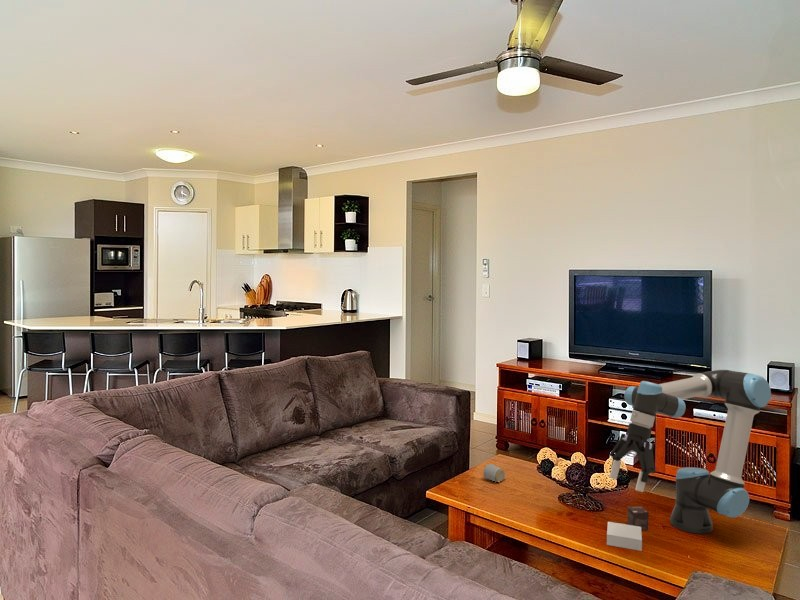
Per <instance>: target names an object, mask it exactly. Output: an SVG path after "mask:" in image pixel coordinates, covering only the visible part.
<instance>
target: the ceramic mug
mask: <svg viewBox="0 0 800 600" xmlns="http://www.w3.org/2000/svg"><path fill="white" fill-rule="evenodd" d="M483 477H484V478H485V479H486V478H487V479H486V480H488V479H490V480H492V481H491V482H493V481H495V482H494V483H496V482H498V481H502V480H503V481H504V480H505V479H504V478H507V476H505V471H504V469H503V468H501V467H499V466H497V465H495V464H492V463H488V464H486V466H485V468H484V469H483ZM490 480H489V481H490ZM503 481H502V482H503Z"/></svg>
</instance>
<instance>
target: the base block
mask: <svg viewBox="0 0 800 600" xmlns="http://www.w3.org/2000/svg"><path fill="white" fill-rule="evenodd" d="M606 530H607V531H606V546H612V547H617V548H623V549H629V550H634V551H641V552H642V551H643V537H642V536H643V533H642V530H641V527H639V526H633V525H628V524H625V523H620V522H612V521H607V529H606Z"/></svg>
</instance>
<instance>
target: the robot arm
mask: <svg viewBox="0 0 800 600" xmlns="http://www.w3.org/2000/svg"><path fill="white" fill-rule="evenodd" d="M771 390H772V389H771V386H770V384H769V382H768V381H767V380H766V379H765V377H763V376H761V375H758V374H754V373H748V372H743V371H735V370H729V369H715V370H710V371H709V370H708V371H705V372H704V371H703V372H699V373H696V374H693V376H692V377H689V378H683V379H679V380H678V379H677V380H673V381H668V382H663V383H659V384H658V383H655V382H650V381H648V380H647V381H646V380H642V381H640V383H639V385H638V386H633V385H632V386H629V387H627V388H626V390H625V392H624V395H623V396H624V398H623V399H624V401H625V403H626V404H628V406H631V407H632V412H631V415H630V419H629V422H630V423H628V427H627V434H625V433H621V435H620V437H619V440H617V442H616V444H615V445H614V446H613V448H612V449H611V451H610V453H609V456H610V457H611V458H612V461H611V466H610V468H611V469H610V473H609V475H608V476H609V477H608V478H610V479H613V480H617V479H618V476H619V472H620V468H621V464H622V458H624V457H625V456H626V455H627V454H628V453H630V452H631V451H633V452H635V454H637V457H638V460H639V464H640V468H641V470H640V471H639V473H638V477H637V481H636V485H635V491H637V492H641V493H644V491H645V490H644V489H645V486H646V483H647V482H648V479H649V475H650V474H655V472H656V469H655V460H654V459H655V458H654V447H655V445H654V443H651V442H648V440H650V438H651V436H652V432H653V431H652V428H653V427H654V424H655V423H654V422H655V420H656V419H655V418H656V417H657V416H656V414H660V415H664V416H666V417H670V418H673V419H674V418H675V419H678V418H681V417H682V416H684V414H685V412H686V409H687V408H686V403H685V401H684V400H686V399H691V398H695V397H700V398H709V397H711V398H712V397H713V398H718V399H723V400H725V401H724V406H726V408H727V412H726V413H727V414H726V419H725V422H724V428H723V432H722V437H721V442H720V447H719V452H718V456H717V459H716V460H717V461H716V465H715V469H714V470H713V471H711V472H710V471H709V470H707V469H705V468H702V467H695V466H694V467H693V466H692V467H690V466H689V467H688V466H686V467H681V468H678V469H677V470H676V476H675V505H674V507H673V509H672V512H671V514H670V520H669V521H670V524H671V525H672V526H673V527H674V528H676V529H678V530H680V531H684V532H687V533H692V534H699V535H700V534H701V535H703V534H705V535H706V534H709V533H712V532H713V526H714V524H713V520H712V517H711V515H710V512H709V510H711V511H714V512H716V513H718V514H719V515H721V516H726V517H729V518H737V517H740V516H741V515H742V514H744V512H745V511H746V510H747V509H748V506H749V503H750V496H749V492H748V491H747V490H746V489H745V482H744V480H743V478H742V475H743V469H744V464H745V461H746V456H747V450H748V445H749V442H750V436H751V431H752V426H753V421H754V417H755V415H757V414H759V413H760V412H761V408H765V407H766V406H768V404H769V402H770V401H771V398H772V397H771V396H772V391H771Z"/></svg>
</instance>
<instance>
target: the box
mask: <svg viewBox="0 0 800 600" xmlns="http://www.w3.org/2000/svg"><path fill="white" fill-rule="evenodd" d="M626 517H627V521H626V522H627V524H626V525H633V526H639V527H641V531H649V517H650V516H649V511H648V510H646V509H645V508H644V507H643V506H627V516H626Z"/></svg>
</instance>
